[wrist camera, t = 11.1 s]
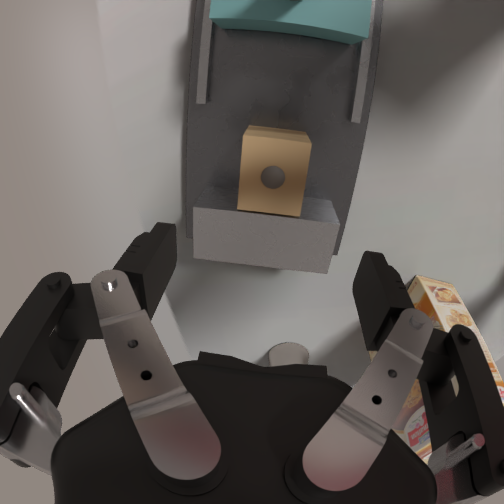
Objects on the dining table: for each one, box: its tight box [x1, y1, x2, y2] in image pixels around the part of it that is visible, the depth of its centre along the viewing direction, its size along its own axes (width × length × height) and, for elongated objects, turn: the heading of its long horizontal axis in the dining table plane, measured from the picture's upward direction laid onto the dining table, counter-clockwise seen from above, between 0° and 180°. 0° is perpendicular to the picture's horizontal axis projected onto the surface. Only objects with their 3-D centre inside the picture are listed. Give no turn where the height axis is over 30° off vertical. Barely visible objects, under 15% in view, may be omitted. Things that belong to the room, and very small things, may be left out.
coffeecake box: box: [369, 275, 504, 464], centre depth 30 cm, size 15×7×20 cm, turn 168°
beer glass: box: [268, 343, 309, 367], centre depth 37 cm, size 7×7×15 cm
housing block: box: [237, 125, 312, 217], centre depth 25 cm, size 6×5×5 cm
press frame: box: [186, 0, 383, 274], centre depth 23 cm, size 28×16×6 cm, turn 175°
